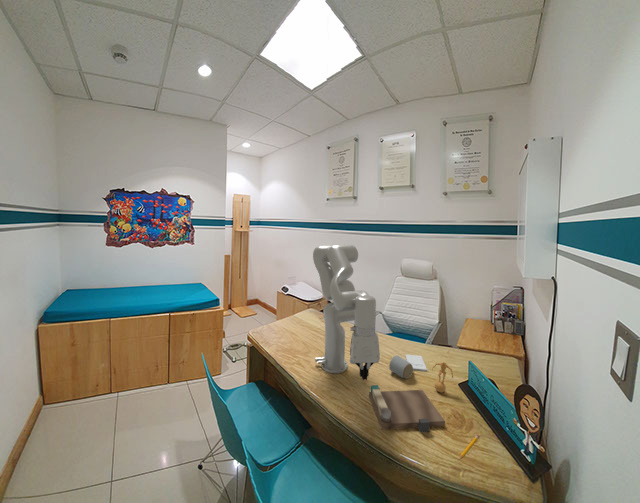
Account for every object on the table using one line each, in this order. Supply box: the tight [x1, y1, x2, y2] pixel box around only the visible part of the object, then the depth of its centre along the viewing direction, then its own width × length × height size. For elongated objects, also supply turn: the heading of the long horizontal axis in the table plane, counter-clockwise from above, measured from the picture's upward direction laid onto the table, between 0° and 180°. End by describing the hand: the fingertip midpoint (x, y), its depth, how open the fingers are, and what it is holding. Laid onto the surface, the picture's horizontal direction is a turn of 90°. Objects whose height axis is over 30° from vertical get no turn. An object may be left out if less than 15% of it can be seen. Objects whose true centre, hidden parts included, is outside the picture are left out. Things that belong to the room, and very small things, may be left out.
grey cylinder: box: [388, 355, 414, 380], centre depth 114 cm, size 11×8×8 cm
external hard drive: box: [405, 353, 428, 372], centre depth 123 cm, size 2×8×12 cm
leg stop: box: [417, 419, 431, 433], centre depth 83 cm, size 3×2×4 cm, turn 94°
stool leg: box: [370, 384, 391, 422], centre depth 91 cm, size 16×3×3 cm, turn 4°
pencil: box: [458, 434, 480, 460], centre depth 77 cm, size 1×13×1 cm, turn 128°
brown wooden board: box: [368, 389, 446, 430], centre depth 92 cm, size 22×16×2 cm
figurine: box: [431, 361, 454, 393], centre depth 103 cm, size 8×6×12 cm
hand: (363, 377), depth 92 cm, fingers closed
